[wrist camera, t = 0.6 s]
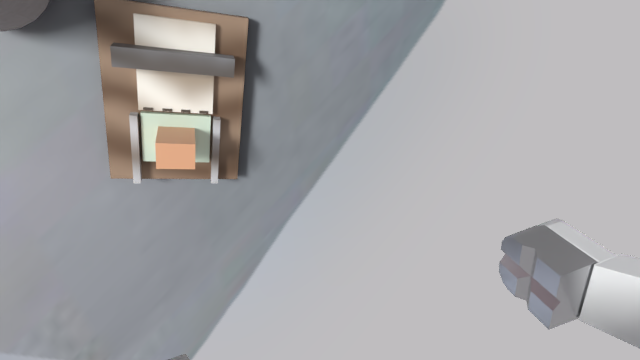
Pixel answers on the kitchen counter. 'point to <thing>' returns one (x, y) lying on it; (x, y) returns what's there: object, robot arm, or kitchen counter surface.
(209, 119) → the orange block with base
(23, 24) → the coffee pot
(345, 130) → the kitchen counter surface
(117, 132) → the ticket board
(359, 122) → the kitchen counter surface
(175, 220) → the kitchen counter surface
